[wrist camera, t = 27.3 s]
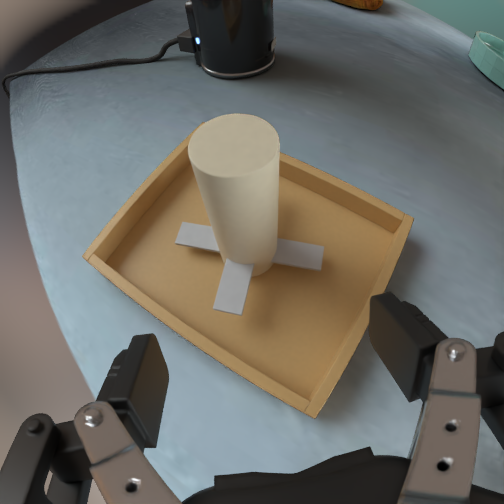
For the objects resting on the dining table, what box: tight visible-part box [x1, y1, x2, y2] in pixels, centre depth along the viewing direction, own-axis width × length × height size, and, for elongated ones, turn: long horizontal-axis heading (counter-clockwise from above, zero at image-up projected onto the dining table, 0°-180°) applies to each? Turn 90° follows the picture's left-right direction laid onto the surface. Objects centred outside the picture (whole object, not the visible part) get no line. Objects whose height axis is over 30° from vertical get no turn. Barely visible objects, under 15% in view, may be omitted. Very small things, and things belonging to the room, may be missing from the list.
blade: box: [175, 114, 324, 316], centre depth 18 cm, size 10×10×11 cm
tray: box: [82, 122, 414, 419], centre depth 22 cm, size 20×16×3 cm
